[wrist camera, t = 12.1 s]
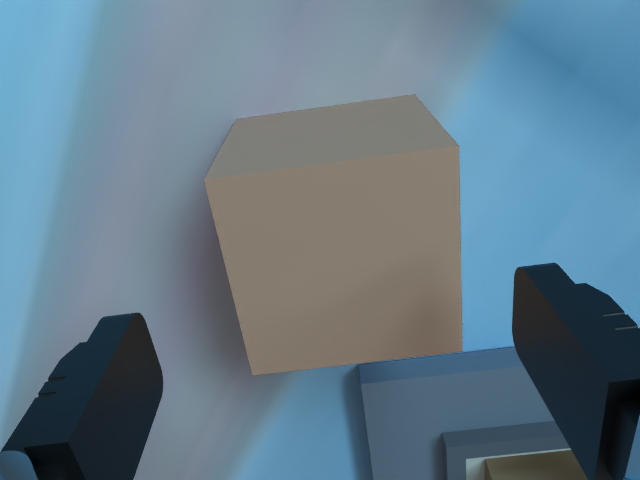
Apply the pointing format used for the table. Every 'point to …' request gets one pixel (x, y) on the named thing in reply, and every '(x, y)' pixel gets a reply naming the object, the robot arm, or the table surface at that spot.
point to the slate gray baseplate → (453, 415)
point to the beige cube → (341, 234)
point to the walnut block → (535, 467)
